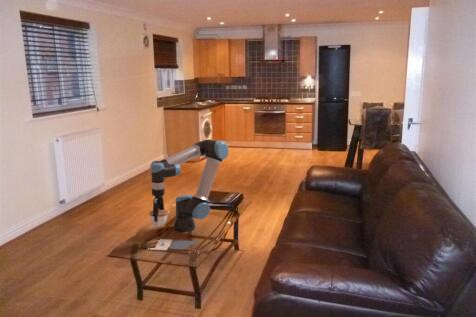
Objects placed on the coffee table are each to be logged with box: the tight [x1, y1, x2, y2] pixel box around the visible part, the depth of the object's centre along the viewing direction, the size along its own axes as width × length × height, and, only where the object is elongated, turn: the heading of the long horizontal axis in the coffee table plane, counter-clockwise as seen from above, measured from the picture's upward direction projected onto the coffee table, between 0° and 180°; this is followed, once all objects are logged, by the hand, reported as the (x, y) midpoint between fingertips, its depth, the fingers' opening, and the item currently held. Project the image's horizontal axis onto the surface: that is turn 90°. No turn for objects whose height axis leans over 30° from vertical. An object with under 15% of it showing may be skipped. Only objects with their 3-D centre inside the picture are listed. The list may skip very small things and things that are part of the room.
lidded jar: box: [149, 209, 168, 227], centre depth 253 cm, size 11×11×9 cm
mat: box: [169, 239, 197, 251], centre depth 255 cm, size 14×14×1 cm
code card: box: [147, 238, 173, 251], centre depth 256 cm, size 17×14×1 cm
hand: (158, 223), depth 254 cm, fingers closed on lidded jar, 11 cm apart
